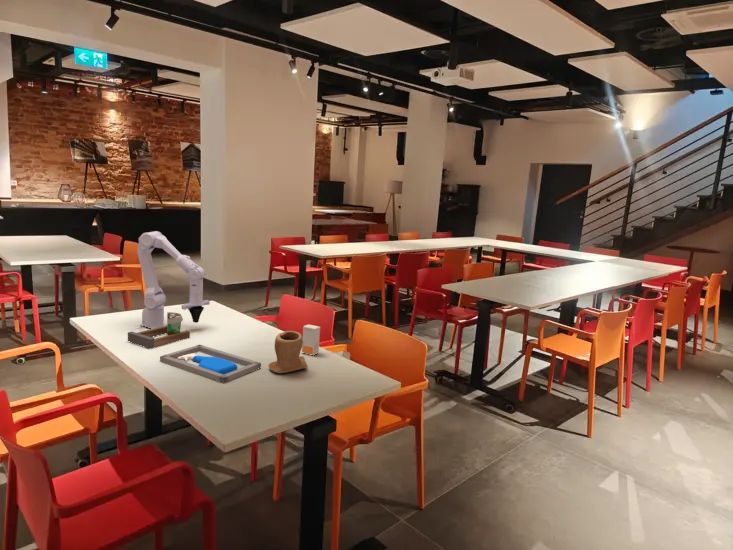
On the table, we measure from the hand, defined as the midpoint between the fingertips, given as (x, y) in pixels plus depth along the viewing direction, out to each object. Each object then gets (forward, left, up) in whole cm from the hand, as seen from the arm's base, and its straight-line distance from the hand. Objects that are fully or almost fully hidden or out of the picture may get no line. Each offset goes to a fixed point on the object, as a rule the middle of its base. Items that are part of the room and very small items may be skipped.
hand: (195, 322), depth 225 cm
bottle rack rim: (+38, -26, -4) cm, 47 cm away
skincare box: (+59, +9, -4) cm, 60 cm away
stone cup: (+64, -11, -4) cm, 65 cm away
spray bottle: (+37, -28, -5) cm, 47 cm away
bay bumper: (0, -28, -4) cm, 29 cm away
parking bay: (0, -18, -4) cm, 19 cm away
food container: (+2, -13, -4) cm, 14 cm away
